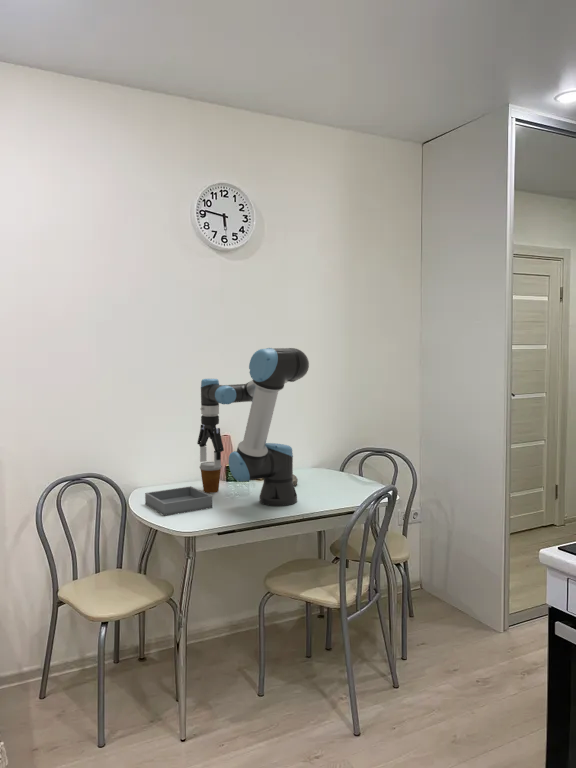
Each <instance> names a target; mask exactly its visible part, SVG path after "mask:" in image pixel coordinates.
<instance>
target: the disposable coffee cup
mask: <svg viewBox="0 0 576 768" xmlns="http://www.w3.org/2000/svg"><path fill="white" fill-rule="evenodd" d="M222 467H223V466H222V465H221V467H218V468H214V461H205V462H200V464H199V469H200V474H201V481H202V488H203V492H204V493H205V492H206V494H215V493H218V492H219V487H220V479H221V470H222Z"/></svg>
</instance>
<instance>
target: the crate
mask: <svg viewBox="0 0 576 768" xmlns="http://www.w3.org/2000/svg"><path fill="white" fill-rule="evenodd" d="M144 495H145V497H144V498H145V499H144V500H145V505H146V506H147V507H149V508H151V509H153V510H154V511H156V512H158V513H159V514H161V515H162V516H164V517H166V516H167V517H168V516H171V515H172V516H173V515H178V513H179V514H183V513H184V512H185V513H190V512H196V511H201V509H202V510H207V509H206V508H208V509H213V495H210V494H209V493H205V492H204V491H202V490H200V489H198V488H196V487H193V486H184V487H177V488H170V489H163V490H156V491H149V492H145V493H144Z"/></svg>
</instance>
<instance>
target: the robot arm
mask: <svg viewBox="0 0 576 768" xmlns="http://www.w3.org/2000/svg"><path fill="white" fill-rule="evenodd" d="M309 368H310V361H309V358H308V356H307V355H306V354H305V352H304V351H302V350H301V349H299V348H294V347H286V348H284V347H282V348H281V347H280V348H279V347H278V348H272V347H267V348H260V349H258V350H256V351H255V352H254V353H253V354H252V356H251V357H250V360H249V365H248V369H249V372H248V373H249V375H250V378H251V380H250V381H249V382H246V383H241V384H220V381H219V379H217V378H203V379H202V380H201V382H200V403H201V404H200V411H201V412H200V413H201V416H200V421H201V422H200V427H199V428H200V429H199V433H198V438H197V442H196V443H197V445H198V446H199V454H200V455H199V461H200V463H203V462H207V442H208V440H209V439H210V440H211V442H212V447H213V449H214V451H213V455H214V456H213V462H214V468H218V467H221V466H222V464H221V463H222V460H221V459H222V456H221V454H222V452H224V450H225V448H224V444H223V440H222V436H221V435H222V434H221V428H220V427H217V425H219V424H220V416H219V415H220V404H221V405H230V404H231V405H232V404H233V403H246V402H247V403H248V402H251V405H250V408H249V415H248V418H247V422H246V427H245V431H244V434H243V435H244V436H243V440H241V441H239V442H238V444H237V448H236V451H232V452H231V453H230V454H229V456H228V467H229V471H230V473H231V475H232V477H233V478H234V480H236V481H237V482H249V481H254V480H261V479H263V484H262V487H261V489H260V493H259V503H260V504H262V505H267V506H271V507H274V506H275V507H280V506H281V507H282V506H283V505H284V506H289V504H291V505H294V504H296V503H297V502H298V495H297V491H296V488H295V485H293V475H294V474H293V473H294V472H293V471H294V470H293V469H294V468H293V467H294V465H293V463H294V462H293V460H294V454H293V448H292V446H291V445H287V444H282V443H274V442H267V440H268V435H269V432H270V427H271V424H272V420H273V415H274V411H275V407H276V404H277V403H276V402H277V398H278V394H279V392H280V391H282V390H283V389H284V388H285V384H287V383H288V382H289V383H293V382H296V381H298V380H300V379H302V378H304V377H305V376H306V375H307V373H308V371H309ZM221 468H222V467H221Z"/></svg>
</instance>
